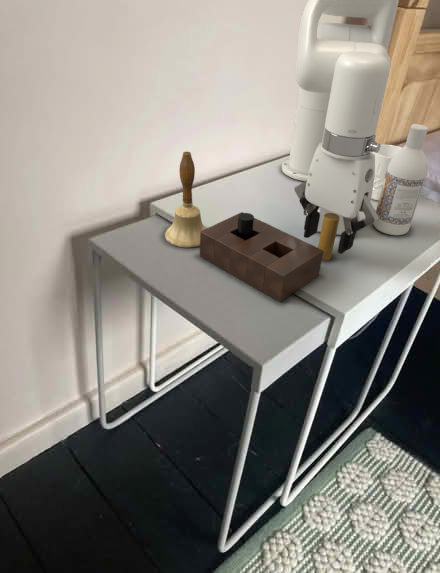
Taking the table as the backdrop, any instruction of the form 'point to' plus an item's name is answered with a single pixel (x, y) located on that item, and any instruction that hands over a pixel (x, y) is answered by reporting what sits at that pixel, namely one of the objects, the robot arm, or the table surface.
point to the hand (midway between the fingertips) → (326, 241)
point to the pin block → (262, 257)
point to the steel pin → (245, 226)
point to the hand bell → (186, 211)
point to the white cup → (382, 167)
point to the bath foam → (403, 185)
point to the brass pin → (328, 234)
